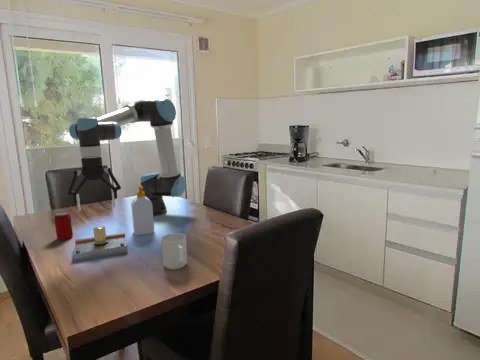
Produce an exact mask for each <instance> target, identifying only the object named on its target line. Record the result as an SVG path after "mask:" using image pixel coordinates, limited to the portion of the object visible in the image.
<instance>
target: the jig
mask: <svg viewBox="0 0 480 360" xmlns="http://www.w3.org/2000/svg"><path fill="white" fill-rule="evenodd" d="M106 241H107V244H106V245H104V246H99V247H97V246H95V239H94V236H93V237H87V238H86V237H85V238H79V239H78V238H77V239H75V241H74V250H73V253H72V256H73V262H78V261H85V260H90V259H91V260H92V259H95V258H96V259H97V258H103V257H108V256H117V255H121V254H126V253H128V252H129V251H128V243H127V239H126V233H125V232H121V233H115V234H106Z"/></svg>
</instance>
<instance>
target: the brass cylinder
mask: <svg viewBox="0 0 480 360" xmlns="http://www.w3.org/2000/svg"><path fill="white" fill-rule="evenodd" d="M92 230H93V237H94V239H95V246H97V247H99V246H104V245H106V244H107V241H106V235H107V233H106V226H104V225H102V226H101V225H100V226H99V225H98V226H95V227H94V228H93V229H92Z"/></svg>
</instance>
